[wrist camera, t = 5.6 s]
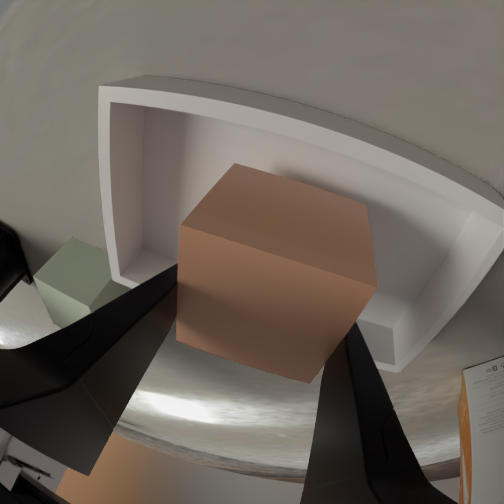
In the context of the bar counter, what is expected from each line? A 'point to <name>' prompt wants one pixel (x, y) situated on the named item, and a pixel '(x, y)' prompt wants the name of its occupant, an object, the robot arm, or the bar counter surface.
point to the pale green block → (76, 282)
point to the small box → (482, 434)
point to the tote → (305, 171)
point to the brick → (272, 272)
